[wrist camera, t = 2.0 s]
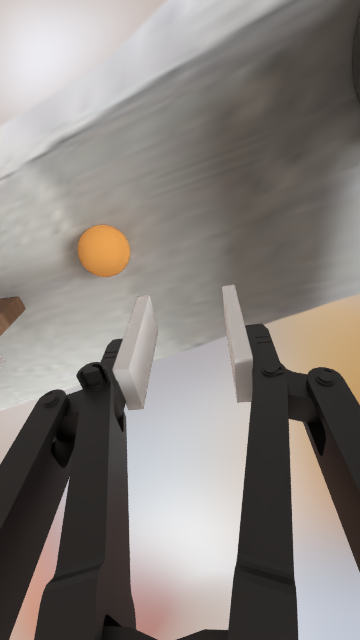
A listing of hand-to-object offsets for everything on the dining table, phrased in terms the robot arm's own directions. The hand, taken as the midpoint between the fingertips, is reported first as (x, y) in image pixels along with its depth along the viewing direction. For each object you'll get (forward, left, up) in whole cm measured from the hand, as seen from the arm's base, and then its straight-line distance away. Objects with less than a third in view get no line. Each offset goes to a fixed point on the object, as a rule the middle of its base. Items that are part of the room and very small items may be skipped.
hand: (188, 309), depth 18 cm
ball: (+9, 0, -14) cm, 17 cm away
